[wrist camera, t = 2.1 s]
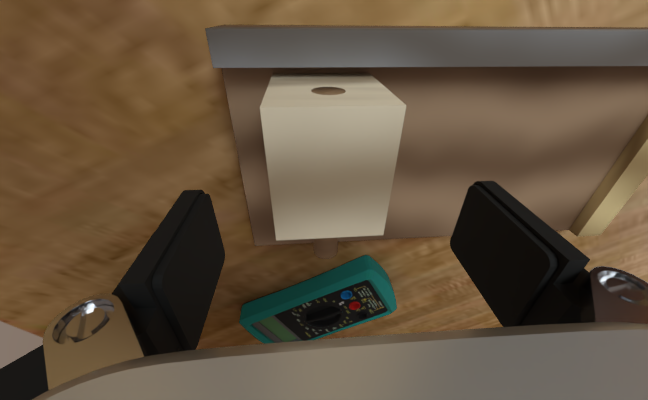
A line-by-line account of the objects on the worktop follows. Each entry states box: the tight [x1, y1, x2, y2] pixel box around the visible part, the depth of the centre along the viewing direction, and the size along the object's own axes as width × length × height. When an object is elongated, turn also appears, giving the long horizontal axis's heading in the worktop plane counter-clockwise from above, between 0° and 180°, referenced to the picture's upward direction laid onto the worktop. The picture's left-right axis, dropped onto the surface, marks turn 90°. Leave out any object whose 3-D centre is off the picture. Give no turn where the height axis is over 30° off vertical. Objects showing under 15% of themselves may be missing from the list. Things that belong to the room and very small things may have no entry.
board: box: [205, 25, 648, 246], centre depth 18 cm, size 14×28×4 cm, turn 89°
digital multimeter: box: [239, 255, 397, 344], centre depth 28 cm, size 7×15×3 cm, turn 117°
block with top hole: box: [260, 73, 406, 259], centre depth 14 cm, size 9×5×6 cm, turn 179°
